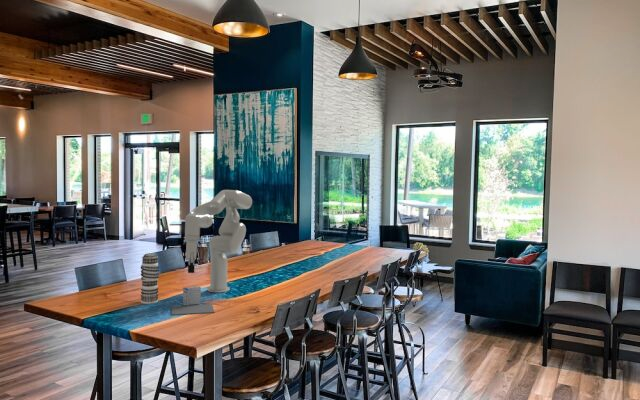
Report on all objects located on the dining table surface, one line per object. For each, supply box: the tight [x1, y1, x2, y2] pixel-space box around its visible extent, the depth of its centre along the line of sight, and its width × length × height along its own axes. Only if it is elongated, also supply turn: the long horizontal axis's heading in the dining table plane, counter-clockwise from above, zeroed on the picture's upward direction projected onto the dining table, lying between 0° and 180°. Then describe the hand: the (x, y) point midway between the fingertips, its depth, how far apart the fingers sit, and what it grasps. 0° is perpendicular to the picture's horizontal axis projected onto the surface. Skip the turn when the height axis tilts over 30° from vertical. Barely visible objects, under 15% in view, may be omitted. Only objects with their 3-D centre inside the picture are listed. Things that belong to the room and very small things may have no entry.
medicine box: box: [182, 285, 202, 306], centre depth 245 cm, size 8×4×9 cm, turn 141°
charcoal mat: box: [170, 303, 215, 316], centre depth 236 cm, size 14×20×1 cm
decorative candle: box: [140, 252, 160, 305], centre depth 248 cm, size 9×9×25 cm
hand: (191, 272), depth 251 cm, fingers closed
